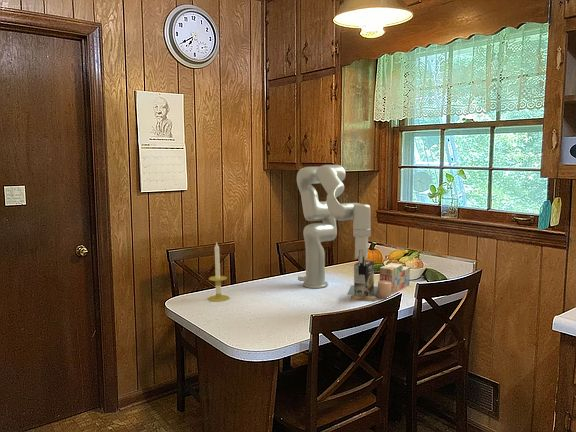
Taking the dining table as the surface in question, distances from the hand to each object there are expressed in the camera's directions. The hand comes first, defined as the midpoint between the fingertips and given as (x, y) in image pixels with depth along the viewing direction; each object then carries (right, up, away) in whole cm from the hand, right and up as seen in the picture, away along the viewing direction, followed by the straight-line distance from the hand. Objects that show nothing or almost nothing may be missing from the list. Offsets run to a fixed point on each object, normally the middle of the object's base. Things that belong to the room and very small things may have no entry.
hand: (362, 274), depth 211 cm
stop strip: (+1, -13, +7) cm, 15 cm away
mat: (+5, -11, +22) cm, 25 cm away
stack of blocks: (+20, -10, +25) cm, 33 cm away
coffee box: (+3, -12, +13) cm, 18 cm away
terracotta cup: (+12, -12, +11) cm, 20 cm away
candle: (-65, -13, +14) cm, 68 cm away
